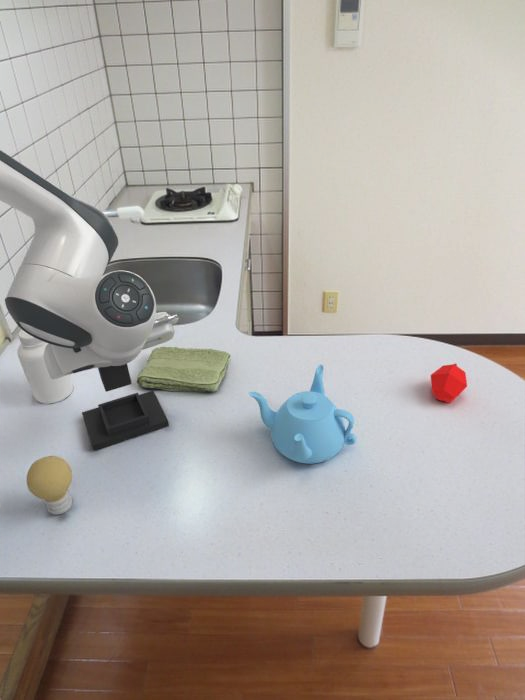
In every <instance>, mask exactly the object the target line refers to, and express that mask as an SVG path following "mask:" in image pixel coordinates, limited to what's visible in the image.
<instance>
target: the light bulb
mask: <svg viewBox="0 0 525 700" xmlns="http://www.w3.org/2000/svg"><path fill="white" fill-rule="evenodd" d="M72 480H73V472H72V469H71V466H70V464H69V463H68V462H67V461H66V460H65V459H64V458H62V457H61V456H58V455H49V456H48V455H47V456H43V457H41V458H38V459H37V460H35V461H34V462H33V463H32V464H31V465H30V467H29V468H28V471H27V473H26V485H27V486H26V487H27V488H28V490H29V492H30V493H31V494H32V495H33V496H34V497H36V498H37V499H40V500H42V501H44V504H45V506H46V508H47V511H48V512H49V513H50V514H52V515H55V516H57V515H62V514H64V513H66V512H68V511H69V510H70V509H71V507H72V505H73V499H72V496H71V493H70V490H69V488H70V486H71V484H72Z"/></svg>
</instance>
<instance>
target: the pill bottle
mask: <svg viewBox="0 0 525 700" xmlns="http://www.w3.org/2000/svg"><path fill="white" fill-rule="evenodd" d="M17 336H18V340H19V342H20V344H19V346H18V347H17V352H16V353H17V357H18V360H19V363H20V365H21V367H22V370H23V373H24V376H25V378H26V380H27V381H26V382H27V383H28V386H29V388H30V391H31V394H32V396H33V397H34V399H35V401H37V402H38V403H40V404H45V405H46V404H47V405H48V404H55V403H58V402H60V401H64V400H65V399H66V398H68V397H69V396H70V395H71V394H72V393H73V390H74V388H75V387H74V386H75V385H74V381H73V378H72V374H69V375H66V376H63V377H61V378H58V379H51V377H50V375H49V373H48V370H47V367H46V365H45V362H44V350H45V347H46V345H47V344H48V343H46V342H44V341H41V340H39V339H37V338H34V337H33V336H31V335H29V334H28V333H26V332H25V331H23V330H22V329H20V330H19V331H18V335H17Z"/></svg>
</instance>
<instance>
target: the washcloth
mask: <svg viewBox="0 0 525 700" xmlns="http://www.w3.org/2000/svg"><path fill="white" fill-rule="evenodd" d="M231 356H232V355H231V353H229V352H227V351H225V350H219V349H214V348H192V347H191V348H190V347H189V348H188V347H187V348H184V347H177V346H160V347H154V348H153V349H152V351H151V353H150V355H149V358H148V359H147V363H146V365H145V366H144V367H143V368H142V369H141V371H140V372H139V373H138V375H137V377H136V381H135V382H136V384H137V386H140V387H141V388H146V389H156V390H162V391H168V392H180V391H181V392H213V393H214V392H218V389H219V385H220V383H221V382H222V380H223V378H224V376H225V374H226V371H227V366H228V363H229V361H230V359H231Z"/></svg>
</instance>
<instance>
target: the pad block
mask: <svg viewBox="0 0 525 700" xmlns="http://www.w3.org/2000/svg"><path fill="white" fill-rule="evenodd" d="M97 370H98V374H99V377H100V380H101V383H102V385H103V388H104V391H105V393H107V392H110V391H113V390H117V389H120V388H123V387H127V386H130V385H132V384H133V382H132V378H131V374H130V371H129V366H128V363H127V364H124V365H120V366H108V367H99V368H97Z"/></svg>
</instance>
